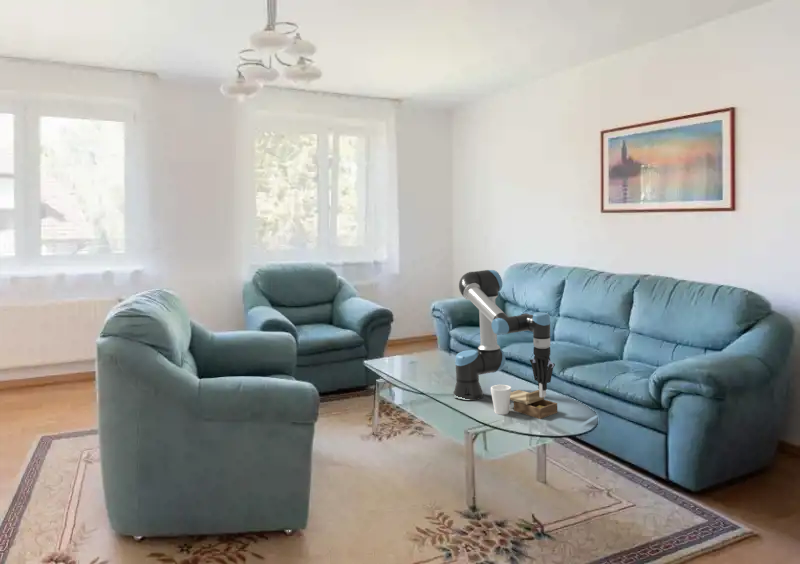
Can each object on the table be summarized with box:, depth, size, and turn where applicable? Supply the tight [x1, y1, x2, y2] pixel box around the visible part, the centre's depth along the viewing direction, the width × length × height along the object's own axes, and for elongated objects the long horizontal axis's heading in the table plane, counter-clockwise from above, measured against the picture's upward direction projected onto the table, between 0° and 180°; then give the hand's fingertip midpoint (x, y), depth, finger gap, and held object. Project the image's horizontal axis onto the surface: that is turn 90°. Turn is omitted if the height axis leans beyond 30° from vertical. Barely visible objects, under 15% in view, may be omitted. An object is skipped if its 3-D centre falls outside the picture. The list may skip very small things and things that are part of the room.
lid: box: [510, 389, 545, 405], centre depth 287 cm, size 16×12×4 cm
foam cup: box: [490, 384, 512, 416], centre depth 282 cm, size 10×9×13 cm
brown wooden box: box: [513, 398, 558, 420], centre depth 281 cm, size 16×12×6 cm
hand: (542, 396), depth 277 cm, fingers closed
